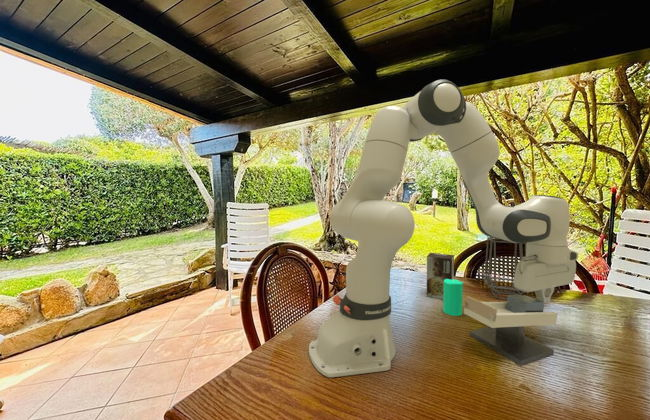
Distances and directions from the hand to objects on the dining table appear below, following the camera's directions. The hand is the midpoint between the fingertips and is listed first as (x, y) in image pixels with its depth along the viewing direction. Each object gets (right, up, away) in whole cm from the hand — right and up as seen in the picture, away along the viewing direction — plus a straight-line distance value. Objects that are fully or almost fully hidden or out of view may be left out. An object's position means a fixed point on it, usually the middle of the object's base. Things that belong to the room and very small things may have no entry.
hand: (543, 302), depth 75 cm
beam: (-12, -3, -4) cm, 13 cm away
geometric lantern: (+9, -7, +29) cm, 31 cm away
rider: (-7, -2, -3) cm, 8 cm away
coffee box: (-17, -8, +29) cm, 34 cm away
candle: (-18, -9, +15) cm, 25 cm away
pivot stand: (-12, -10, -4) cm, 16 cm away
